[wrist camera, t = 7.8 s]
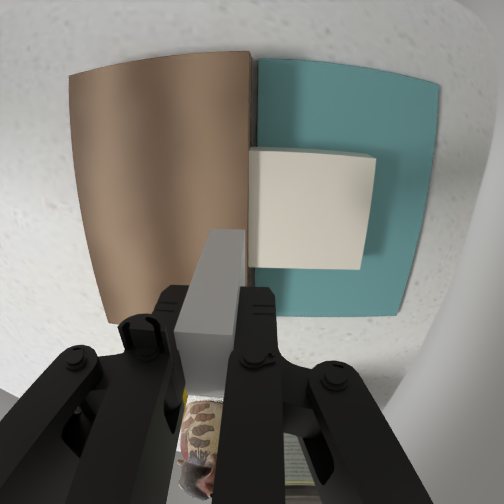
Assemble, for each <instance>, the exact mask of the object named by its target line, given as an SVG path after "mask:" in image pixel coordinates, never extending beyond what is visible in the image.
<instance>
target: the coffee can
mask: <svg viewBox="0 0 504 504" xmlns="http://www.w3.org/2000/svg"><path fill="white" fill-rule="evenodd" d="M284 461H285V503H286V504H322V502H321V499H320V497H319V494H318V492H317V489H316V486H315V484H314V481H313V478H312V476H311V473H310V470H309V468H308V465H307V463H306V460H305V457H304V454H303V452H302V449H301V446H300V444H299V441H298V438H297V436H295V435H291V434H287V433H284Z"/></svg>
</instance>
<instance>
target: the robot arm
mask: <svg viewBox="0 0 504 504" xmlns="http://www.w3.org/2000/svg"><path fill="white" fill-rule="evenodd" d="M118 330H119V333H120V336H121V339H122V342H123V345H124V348H125V350H124V353H121V354H116V355H109V356H100V357H98V356H97V354H96V352H95V350H94V349H92V348H91V347H89V346H85V345H76V346H72V347H70V348H67V349H66V350H65V351H63V352H62V353H61V354H60V355H59V356H58V357H57V358H56V359H55V360H54V361H53V362H52V363H51V364H50V366H49V367H48V368H47V369H46V370H45V371H44V372H43V373H42V374H41V375H40V376H39V378H38V379H37V380H36V381H35V382H34V383H33V384H32V385H31V386H30V388H29V389H28V390H27V391H26V392H25V393H24V394H23V395H22V397H21V398H20V399H19V400H18V401H17V403H16V404H15V405H14V406H13V407H12V408H11V410H9V412H8V413H7V414H6V415H5V416H4V418H3V419H2V420H1V421H0V504H166V501H167V495H168V489H169V484H170V479H171V473H172V468H173V463H174V457H175V452H176V448H177V442H178V437H179V432H180V428H181V423H182V418H183V413H184V401H183V393H184V388H185V387H186V391H187V395H196V396H208V397H222V398H224V400H223V408H222V417H221V425H220V434H219V442H218V451H217V460H216V469H215V477H214V486H213V496H212V504H286V503H285V461H284V433H287V434H291V435H295V436H297V438H298V441H299V444H300V446H301V449H302V452H303V454H304V457H305V460H306V463H307V465H308V468H309V470H310V473H311V476H312V478H313V481H314V484H315V486H316V489H317V492H318V494H319V497H320V499H321V502H322V504H433V502H432V500H431V498H430V497H429V495H428V493H427V491H426V489H425V487H424V486H423V484H422V482H421V480H420V478H419V477H418V475H417V473H416V471H415V470H414V468H413V466H412V464H411V462H410V461H409V459H408V457H407V455H406V454H405V452H404V450H403V448H402V447H401V445H400V443H399V441H398V440H397V438H396V436H395V434H394V433H393V431H392V429H391V427H390V426H389V424H388V422H387V421H386V419H385V417H384V415H383V414H382V412H381V410H380V409H379V407H378V405H377V404H376V402H375V400H374V399H373V397H372V395H371V393H370V392H369V390H368V388H367V387H366V385H365V383H364V382H363V380H362V378H361V377H360V375H359V373H358V372H357V371H356V370H355V369H354V368H353V367H352V366H350V365H348V364H346V363H344V362H339V361H325V362H322V363H320V364H317V365H316V366H315V367H314V368H313V369H308V368H304V367H300V366H297V365H294V364H292V363H290V362H289V361H287V360H286V359H285V358H284V357H283V356H282V355H281V353H280V352H279V349H278V341H277V321H276V303H275V295H274V293H273V292H272V291H271V289H270V288H269V287H249V286H245V230H241V229H210V232H209V234H208V237H207V240H206V242H205V245H204V248H203V250H202V253H201V256H200V258H199V261H198V264H197V267H196V269H195V272H194V275H193V278H192V280H191V283H190V285H169V286H168V287H167V288H166V289H165V290H164V291H162V292H161V294H160V296H159V299H158V301H157V303H156V305H155V307H154V311H153V312H152V314H148V313H146V314H136V315H133V316H130V317H128V318H126V319H125V320H123V321H122V322H121V323H120V324H119V326H118Z"/></svg>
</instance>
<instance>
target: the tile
mask: <svg viewBox="0 0 504 504" xmlns="http://www.w3.org/2000/svg"><path fill="white" fill-rule="evenodd" d="M375 166H376V158H374V157H372V156H370V155H369V154H366V153H356V152H346V151H334V150H320V149H304V148H282V147H250V149H249V204H248V267H260V268H298V269H345V270H360V266H361V261H362V256H363V250H364V245H365V239H366V233H367V226H368V220H369V213H370V206H371V199H372V192H373V184H374V175H375Z"/></svg>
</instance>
